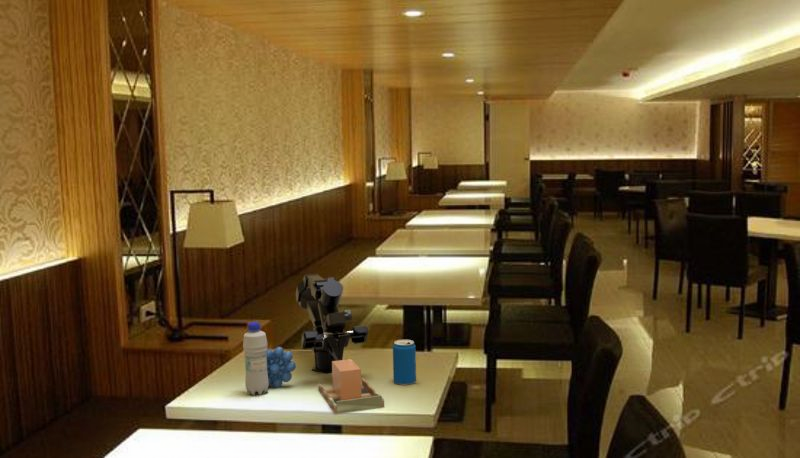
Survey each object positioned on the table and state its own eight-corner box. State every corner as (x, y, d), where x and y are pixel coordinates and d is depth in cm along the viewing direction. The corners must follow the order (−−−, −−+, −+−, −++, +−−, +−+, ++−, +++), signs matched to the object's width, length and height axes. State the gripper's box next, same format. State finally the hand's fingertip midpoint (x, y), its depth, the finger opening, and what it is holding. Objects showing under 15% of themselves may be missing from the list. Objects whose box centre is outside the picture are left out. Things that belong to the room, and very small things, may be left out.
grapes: (299, 383, 217) (297, 342, 216) (295, 391, 211) (293, 349, 209) (259, 383, 218) (257, 342, 216) (253, 391, 211) (251, 349, 210)
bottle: (249, 398, 205) (246, 326, 203) (241, 391, 211) (238, 321, 209) (273, 393, 209) (270, 322, 206) (265, 387, 215) (261, 318, 212)
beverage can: (414, 387, 211) (413, 345, 210) (391, 386, 213) (390, 344, 211) (418, 380, 218) (417, 339, 216) (396, 379, 219) (395, 338, 218)
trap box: (318, 391, 210) (318, 378, 210) (363, 385, 214) (363, 373, 214) (335, 415, 191) (334, 402, 191) (384, 408, 195) (384, 395, 195)
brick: (332, 389, 210) (331, 361, 209) (352, 386, 211) (351, 359, 210) (341, 400, 200) (340, 371, 199) (361, 398, 202) (360, 369, 201)
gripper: (301, 303, 211) (310, 351, 202) (365, 297, 217) (377, 344, 208) (297, 324, 220) (306, 372, 210) (359, 318, 225) (370, 364, 216)
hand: (340, 363), depth 211 cm, fingers closed
